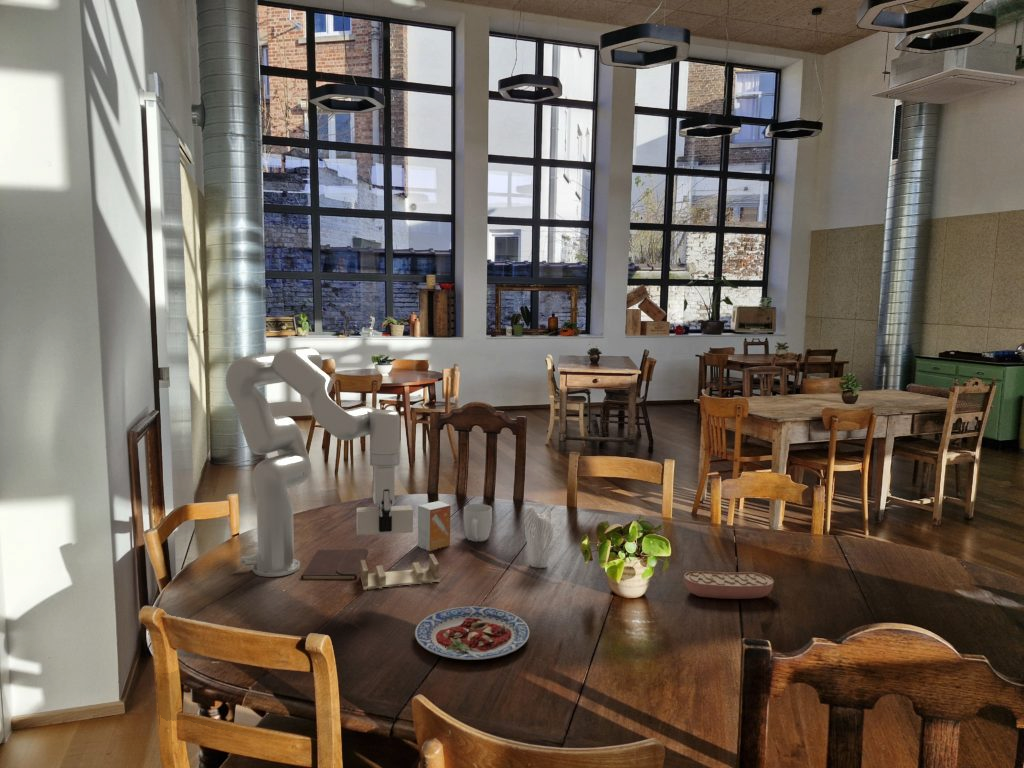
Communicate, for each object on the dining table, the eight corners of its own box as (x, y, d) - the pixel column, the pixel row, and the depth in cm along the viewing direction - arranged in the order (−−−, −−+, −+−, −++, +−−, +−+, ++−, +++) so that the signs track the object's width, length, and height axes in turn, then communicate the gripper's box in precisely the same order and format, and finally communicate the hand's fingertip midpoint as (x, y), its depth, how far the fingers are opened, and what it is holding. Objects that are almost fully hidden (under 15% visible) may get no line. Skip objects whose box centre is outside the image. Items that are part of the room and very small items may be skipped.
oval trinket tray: (765, 590, 200) (766, 572, 199) (778, 605, 190) (779, 586, 189) (680, 588, 200) (681, 570, 199) (688, 603, 190) (689, 584, 189)
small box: (429, 551, 223) (429, 509, 221) (417, 546, 228) (417, 505, 226) (450, 545, 229) (451, 504, 227) (437, 540, 233) (438, 500, 232)
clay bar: (357, 535, 188) (357, 512, 187) (356, 530, 192) (356, 507, 191) (412, 532, 191) (412, 509, 191) (411, 527, 195) (411, 505, 194)
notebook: (301, 580, 201) (300, 573, 201) (317, 554, 220) (317, 548, 220) (356, 580, 201) (356, 573, 201) (368, 555, 221) (368, 548, 221)
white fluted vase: (553, 561, 217) (554, 501, 215) (552, 571, 209) (553, 509, 207) (525, 559, 218) (526, 499, 216) (522, 569, 210) (524, 508, 208)
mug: (465, 533, 241) (466, 503, 240) (493, 534, 240) (493, 504, 239) (459, 546, 228) (459, 515, 227) (488, 548, 227) (488, 516, 226)
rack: (363, 589, 194) (363, 571, 194) (360, 577, 203) (360, 559, 202) (439, 582, 200) (439, 564, 199) (432, 570, 208) (433, 553, 208)
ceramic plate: (468, 605, 186) (468, 594, 186) (551, 637, 170) (552, 624, 170) (391, 642, 167) (391, 629, 166) (476, 681, 150) (476, 667, 150)
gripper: (367, 452, 196) (367, 519, 199) (371, 467, 180) (371, 540, 183) (396, 451, 198) (396, 517, 200) (403, 466, 182) (402, 538, 184)
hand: (384, 527), depth 192 cm, fingers closed on clay bar, 4 cm apart
